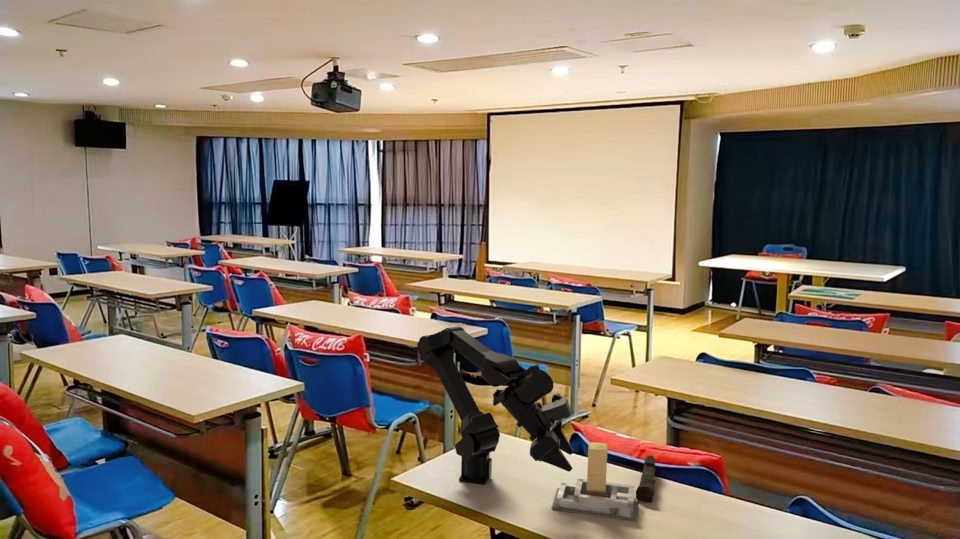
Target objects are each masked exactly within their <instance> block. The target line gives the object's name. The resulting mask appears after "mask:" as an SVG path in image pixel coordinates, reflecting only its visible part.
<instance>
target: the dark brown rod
mask: <svg viewBox="0 0 960 539" xmlns="http://www.w3.org/2000/svg"><path fill="white" fill-rule="evenodd" d="M655 473H656V460H655V457H654V456H653V455H647V456H646V457H645V460H644V463H643V470H642V473H641V476H640V481H639V484H638V487H637V488H636V490H635V498H637V502H641V503H652V502H653V500H654V497H655V484H656V480H655V476H656V474H655Z"/></svg>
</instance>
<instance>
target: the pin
mask: <svg viewBox="0 0 960 539" xmlns="http://www.w3.org/2000/svg"><path fill="white" fill-rule="evenodd" d="M607 468H608V443H607V442H606V443H605V442H594V441H593V442H592V441H588V451H587V472H586V473H587V474H586V480H587V491H586V495H591V496H598V497H605V490H606V482H607Z"/></svg>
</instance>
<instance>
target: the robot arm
mask: <svg viewBox="0 0 960 539" xmlns="http://www.w3.org/2000/svg"><path fill="white" fill-rule="evenodd" d="M416 348H417V352H418V354H419V356H420V357H421V359H422V360H423V362H424V363H425V364H426V366H429V367H430V368H432V369H434V371H435V372H436V374H437V376H438V377H439V380H440V381H441V384H442V385H443V387H444V389H445V391H446V393H447V395H448V397H449V399H450V401H451V403H452V405H453V407H454V409H455V411H456V414H457V416H459V418H460V436H461V439H460V440H458V441H457V443H456V444H455V445H454V448H455V453H456V455H458V456H460V457H461V466H460V468H461V470H460V476H459V478H458V481H460V482H467V483H475V484H479V485H481V484H482V485H485V484H486V483H487V481H488V480H489V479H490V478H491V476H492V471H493V470H492V469H493V459H492V458H491V456H490V455H491V454H490V453H493V452H495V451H496V449H497V446H498V444H499V442H500V437H501V435H500V434H501V432H500V430H499V425H498V423H497V422H496V421H495V419H494V416H493V414H492V413H491V412H486V413H484V412H483V411H481V410H480V409H479V407H478V405H477V403H476V402H475V399H474V397H473V395H472V394H471V392H470V389H469V388H468V386H467V384H466V382H465V380H464V379H463V376H462V374H461V373H460V370H459V369H458V367H457V365H456V363H455V361H454V358H455V356H454V355H455V350H456V351H457V352H458V353H460V354H461V355H462V356H464V358H466V359H467V360H469V361H470V362H471V363H473V364H474V365H475V366H476V367H478V369H479V370H480V374H481V377H482V378H483V379H484V380H485V381H486V382H487V383H488V384H489V385H490V386H491V387H493V388H497V387H505V386H506V387H505V388H504V389H498V388H497V389H496V391H494V393H493V394H492V396H493V397H492V398H493V400H492V405H493V406H494V407H496V406H498V405H499V404H501V405H502V407H504V408H505V409H506V411H507V412H508V413H509V414H510V415H511V416H512V417H513V418H514V420H515V421H516V426H517V427H518V428H519V429H520V428H521V427H522V429H524V430H525V431H526V433H528V434H529V440H530V441H531V443H530V447H529V456H530V457H531V458H532V459H533V460H534V461H535V462H537V461H538V462H543V463H546V464H549V465H552V466H554V467H557V468H559V469H561V470H564V471H566V472H568V473H569V472H571V471H572V470H573V467H572V465H571V463H570V462H569V460H568V459H567V457H566V456H565V455H564V453H566V454H568V455H570V456H571V455H572V454H574V449H573V448H572V446H571V444H570V442H569V440H568V439H567V437H566V435H565V433H564V431H563V427H562V426H563V419H564V420H565V419H568V418H570V417H571V416H572V408H571V406H570V404H569V400H568V399H567V397H566V396H562V395H561V394H560V393H558V392H557V393H555V394H552V395H551V402H550V401H549V402H548V403H547V404H545V405H543V404H542V402H540V400H541V399H543V398H544V397H546V396H547V395H548V394H551V393H552V391H554V390H553V389H554V382H553V378H552V376H551V375H549V373H547V371H545V370H543V369H541V368H540V367H539V365H538V364H534V365H531V366H529V367H528V368H527V369H526V368H525V367H523V365H521V364H519V362H518V360H517V359H515V358H514V357H512V356H509V355H507V354H504V353H500V352H495V351H493V350H491V349H490V348H488V347H487V346H486V345H485V344H483V343H481V342H480V341H479V340H478V339H477V338H475V337H473V336H472V335H471V334H469V333H468V332H467V331H465V328H464V327H462V326H459V325H457V326H451V327H450V326H449V327H445V328H444V329H442V330H441V331H438V332H436V333H433V334H428V335H422V336H420V337H419V340H418V342H417V344H416ZM562 451H563V452H564V453H563V452H562Z"/></svg>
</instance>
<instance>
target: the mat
mask: <svg viewBox="0 0 960 539" xmlns="http://www.w3.org/2000/svg"><path fill="white" fill-rule="evenodd" d="M559 488H560V487H557V489H556V492H555V495H554V498H553V502H552V506H551V509H552V510H555V511H562V512H568V513H577V514H584V515H590V516H591V515H592V516H597V517H605V518H611V519H619V520H627V521H631V522H633V521H634V522H637V519H638V515H637V514H638V500H637V498H636V497H634V505H633V510H626V509H618V508H615V515H613V514H606V513H599V512H592V511H585V510H577V509H570V508H563V507H556V498H557V495H558V492H559ZM583 495H585V494H583ZM573 498H574V493H570V492H565V496H564V499H571V500H573ZM606 498H607V497H606ZM616 499H621V500H628V496H622V495H617V498H616Z"/></svg>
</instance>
